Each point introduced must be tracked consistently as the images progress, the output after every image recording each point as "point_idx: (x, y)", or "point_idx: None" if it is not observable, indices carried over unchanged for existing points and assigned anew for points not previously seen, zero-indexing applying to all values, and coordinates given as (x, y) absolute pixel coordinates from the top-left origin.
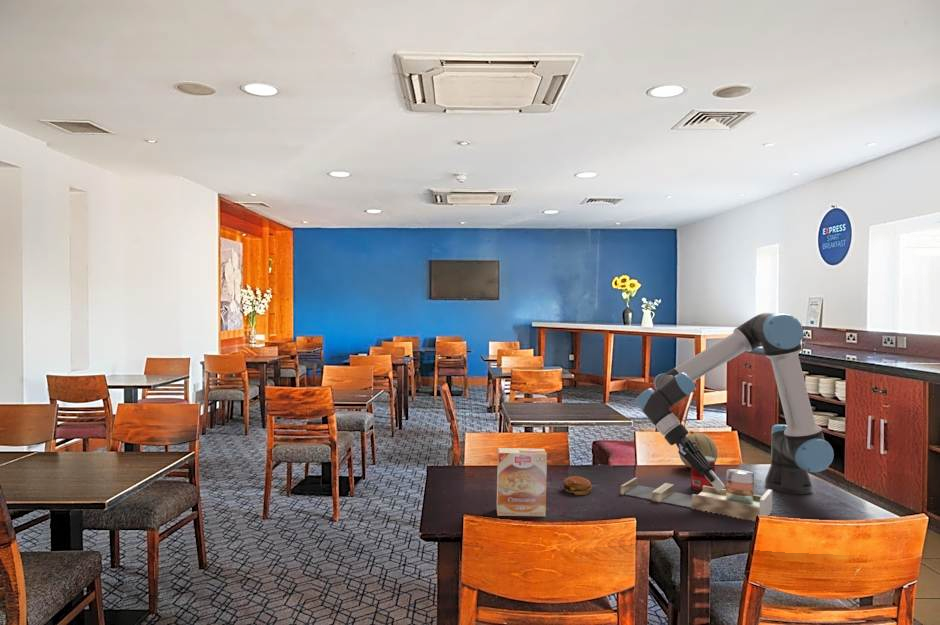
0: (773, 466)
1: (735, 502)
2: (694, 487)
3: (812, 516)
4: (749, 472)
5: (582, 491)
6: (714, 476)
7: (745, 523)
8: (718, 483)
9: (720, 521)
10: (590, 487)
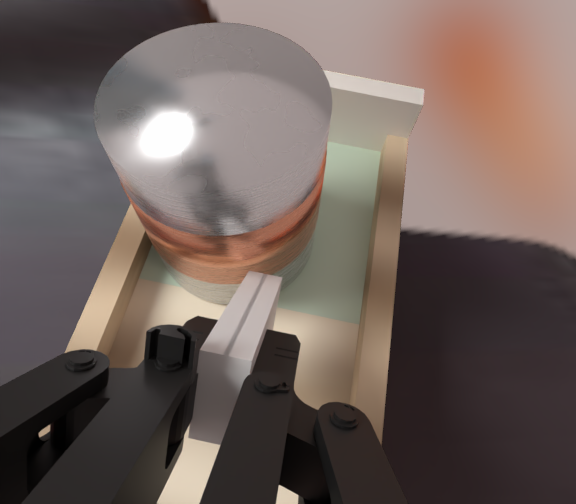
0: None
1: (386, 241)
2: None
3: (195, 24)
4: (182, 44)
5: None
6: (263, 331)
7: (437, 237)
8: (272, 314)
9: (486, 346)
10: None
